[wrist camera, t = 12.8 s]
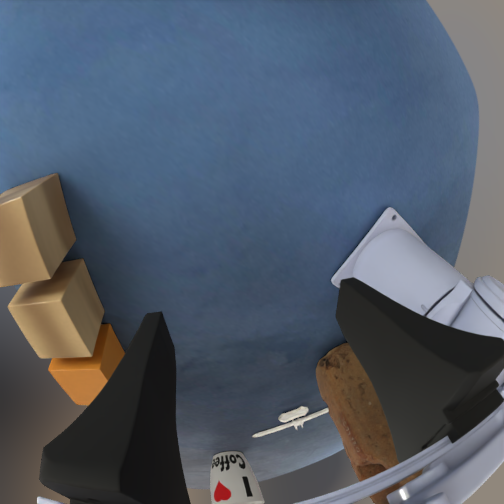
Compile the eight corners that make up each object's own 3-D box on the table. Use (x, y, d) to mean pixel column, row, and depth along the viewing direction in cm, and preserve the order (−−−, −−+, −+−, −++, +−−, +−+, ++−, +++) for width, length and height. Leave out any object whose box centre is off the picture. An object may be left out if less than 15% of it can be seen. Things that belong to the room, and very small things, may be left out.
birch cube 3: (58, 172, 15) (21, 196, 11) (77, 239, 17) (51, 279, 13) (6, 190, 14) (-32, 217, 10) (26, 250, 17) (-3, 288, 12)
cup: (250, 444, 37) (264, 498, 29) (252, 458, 41) (264, 505, 33) (199, 451, 36) (208, 506, 28) (208, 465, 40) (216, 512, 32)
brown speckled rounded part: (400, 319, 29) (496, 454, 12) (382, 361, 32) (454, 482, 15) (315, 342, 27) (402, 523, 10) (306, 383, 31) (367, 532, 14)
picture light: (252, 435, 36) (255, 447, 34) (242, 425, 33) (245, 438, 31) (342, 401, 36) (348, 413, 34) (340, 389, 33) (346, 401, 32)
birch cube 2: (83, 257, 18) (60, 300, 14) (105, 310, 21) (92, 357, 16) (33, 267, 17) (6, 306, 13) (57, 316, 20) (39, 358, 16)
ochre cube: (110, 323, 21) (99, 369, 17) (129, 361, 24) (125, 404, 19) (63, 327, 20) (47, 370, 16) (85, 364, 23) (76, 404, 19)
